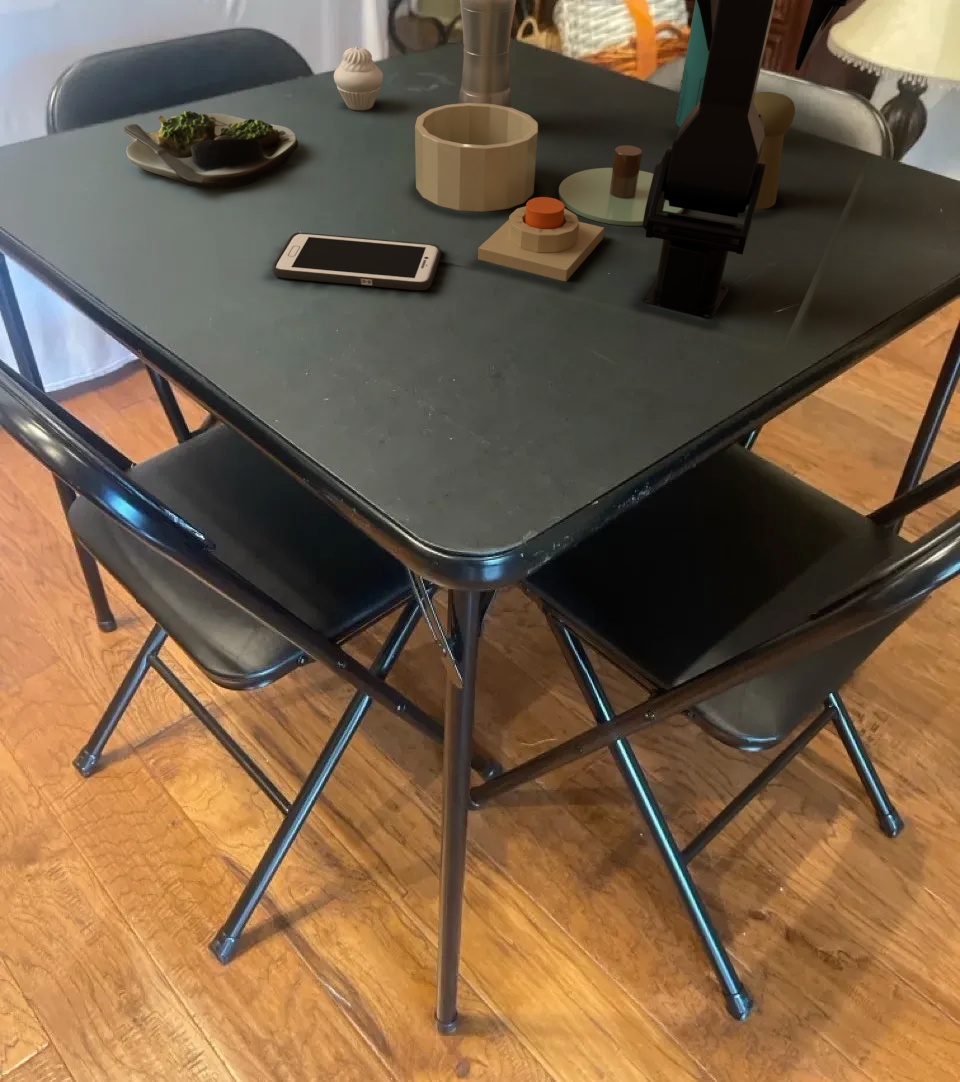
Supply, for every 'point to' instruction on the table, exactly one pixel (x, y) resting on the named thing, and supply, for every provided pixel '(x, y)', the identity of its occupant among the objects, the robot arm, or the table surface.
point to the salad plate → (211, 149)
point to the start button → (544, 213)
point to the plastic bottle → (486, 51)
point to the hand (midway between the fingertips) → (754, 60)
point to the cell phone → (358, 261)
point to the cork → (772, 141)
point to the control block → (542, 245)
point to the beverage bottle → (693, 69)
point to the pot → (475, 156)
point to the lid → (612, 191)
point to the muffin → (358, 79)
